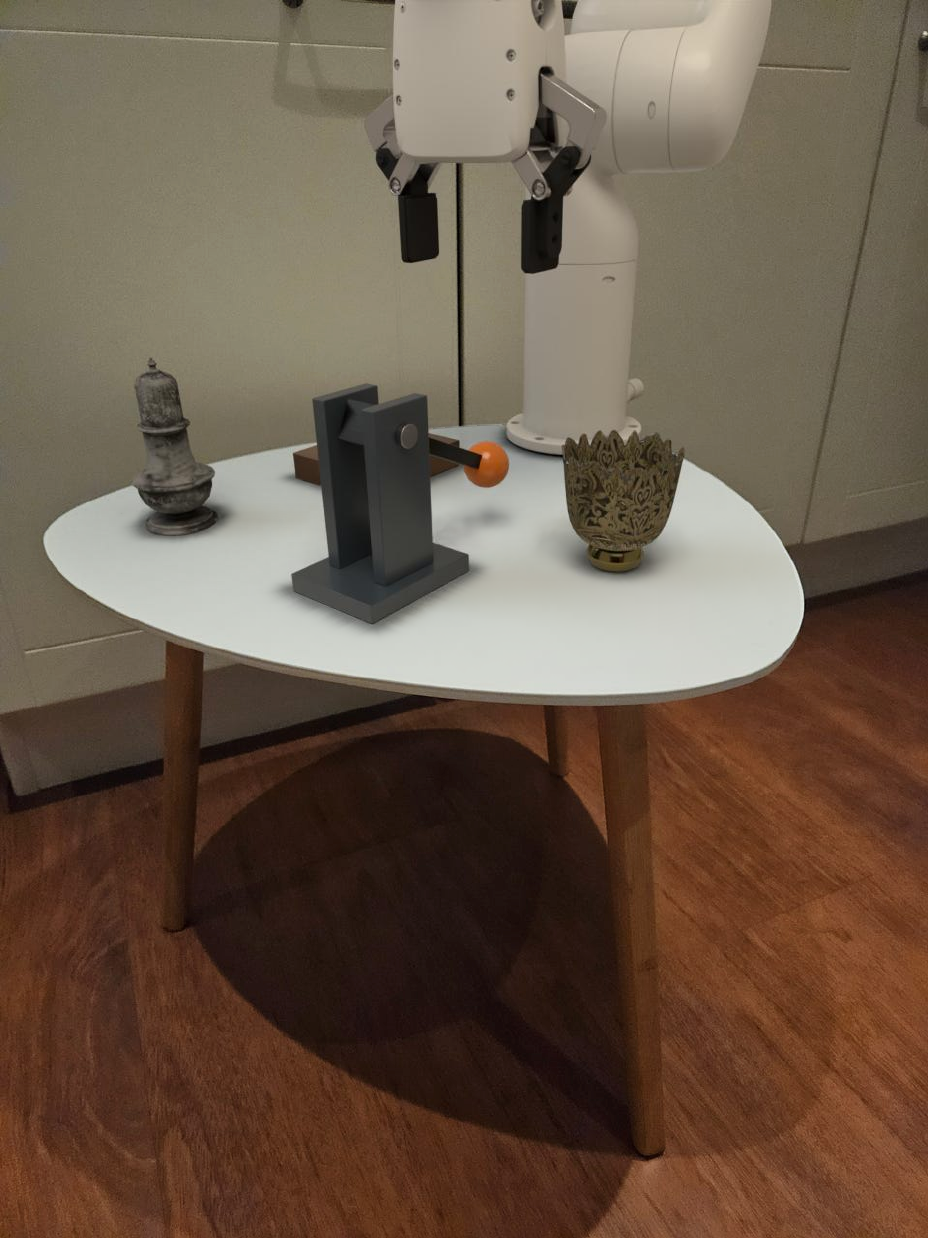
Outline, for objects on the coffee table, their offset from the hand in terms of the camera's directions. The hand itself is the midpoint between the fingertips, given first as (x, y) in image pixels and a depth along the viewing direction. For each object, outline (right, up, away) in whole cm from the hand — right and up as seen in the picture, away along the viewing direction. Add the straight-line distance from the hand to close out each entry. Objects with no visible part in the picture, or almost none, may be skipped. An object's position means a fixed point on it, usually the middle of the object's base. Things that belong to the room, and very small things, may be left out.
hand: (477, 265), depth 55 cm
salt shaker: (-22, -16, +9) cm, 29 cm away
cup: (+9, -19, +1) cm, 21 cm away
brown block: (-8, -10, +18) cm, 22 cm away
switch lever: (-3, -13, 0) cm, 14 cm away
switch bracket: (-6, -20, 0) cm, 21 cm away
